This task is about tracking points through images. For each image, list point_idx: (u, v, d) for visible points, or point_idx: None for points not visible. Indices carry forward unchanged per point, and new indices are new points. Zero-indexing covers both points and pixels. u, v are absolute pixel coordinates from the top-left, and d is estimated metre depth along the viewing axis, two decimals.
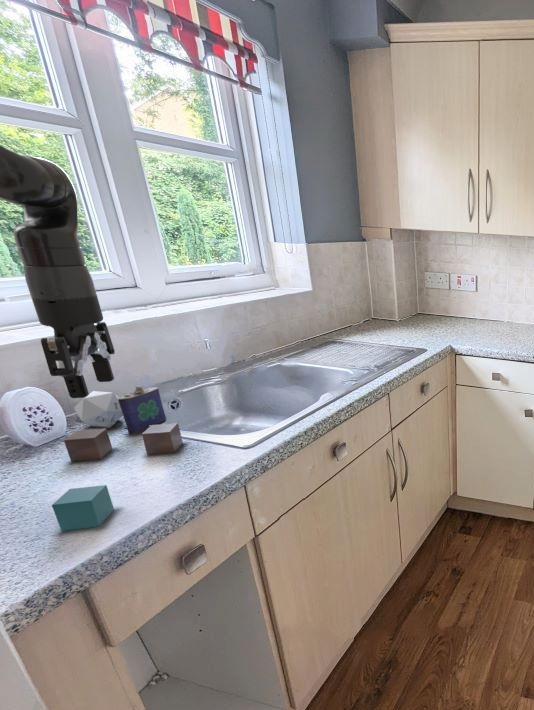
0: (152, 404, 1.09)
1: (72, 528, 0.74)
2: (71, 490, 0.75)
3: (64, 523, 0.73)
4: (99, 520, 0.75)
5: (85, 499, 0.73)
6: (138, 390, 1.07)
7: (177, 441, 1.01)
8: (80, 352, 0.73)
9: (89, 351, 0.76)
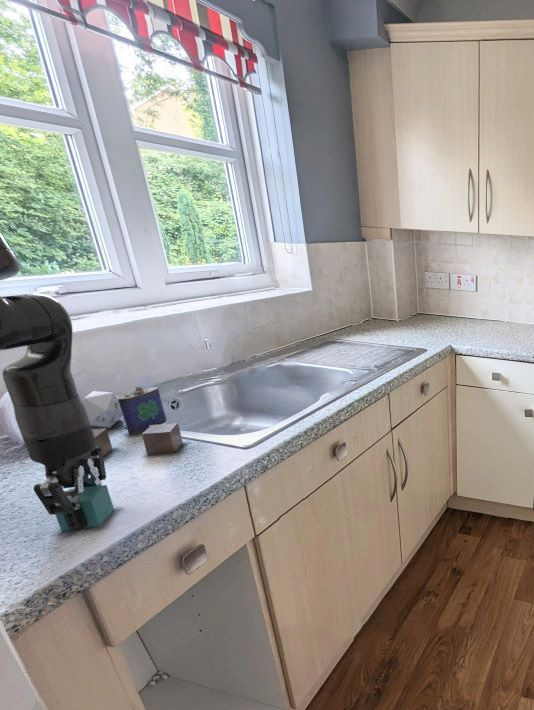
0: (152, 404, 1.09)
1: None
2: None
3: (64, 523, 0.73)
4: (99, 520, 0.75)
5: (85, 499, 0.73)
6: (138, 390, 1.07)
7: (177, 441, 1.01)
8: (75, 486, 0.71)
9: None
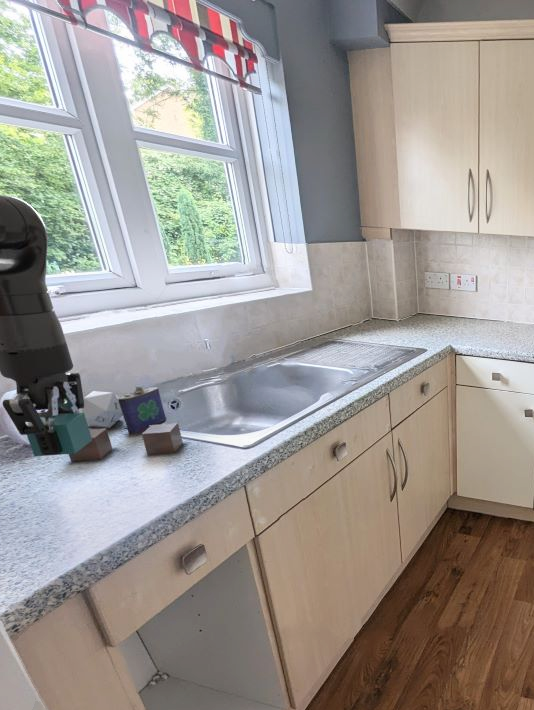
0: (152, 404, 1.09)
1: None
2: None
3: (37, 448, 0.69)
4: (74, 447, 0.71)
5: (60, 423, 0.69)
6: (138, 390, 1.07)
7: (177, 441, 1.01)
8: (49, 407, 0.68)
9: (57, 402, 0.70)
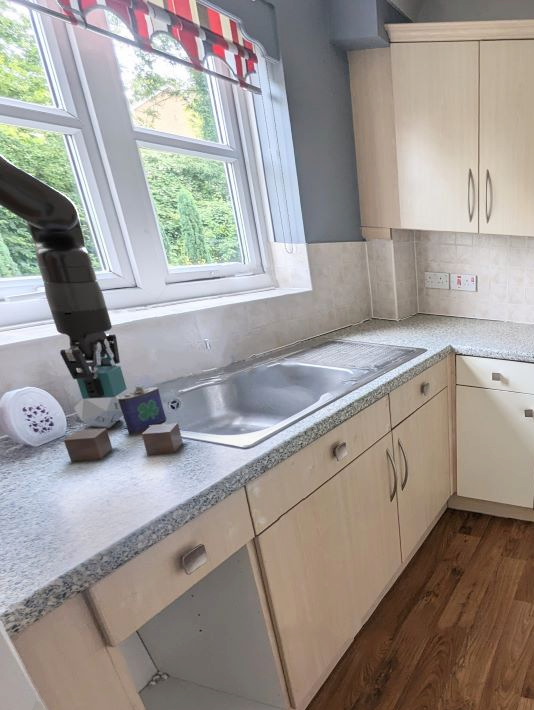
0: (152, 404, 1.09)
1: None
2: None
3: (85, 392, 0.86)
4: (114, 392, 0.88)
5: (102, 372, 0.87)
6: (138, 390, 1.07)
7: (177, 441, 1.01)
8: (94, 358, 0.85)
9: (99, 355, 0.87)
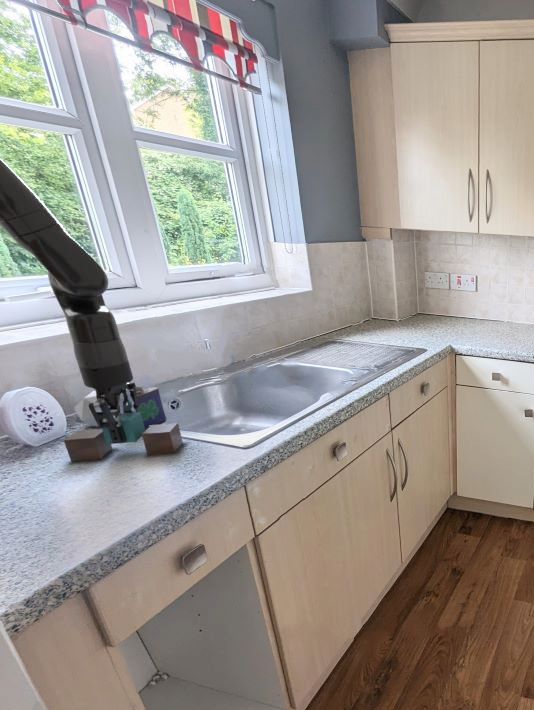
0: (152, 404, 1.09)
1: None
2: None
3: (109, 438, 0.94)
4: (135, 437, 0.96)
5: (125, 419, 0.95)
6: (138, 390, 1.07)
7: (177, 441, 1.01)
8: (118, 408, 0.93)
9: None
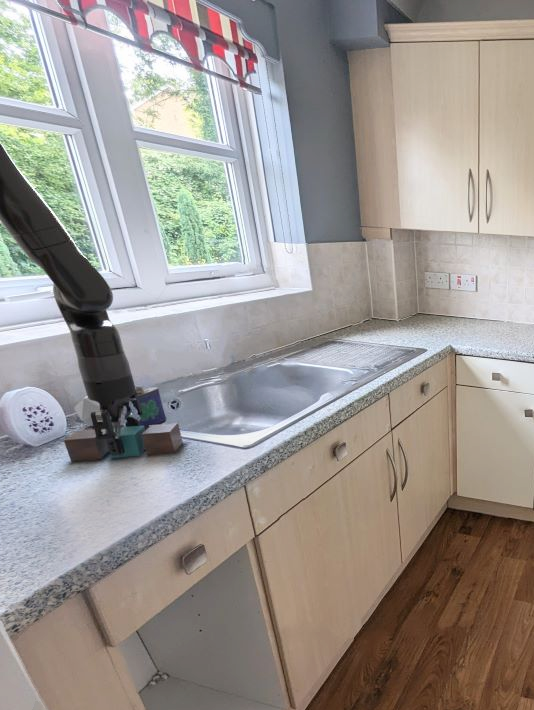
0: (152, 404, 1.09)
1: (119, 456, 0.96)
2: None
3: None
4: (139, 451, 0.97)
5: (129, 433, 0.96)
6: (138, 390, 1.07)
7: (177, 441, 1.01)
8: (119, 420, 0.93)
9: (125, 417, 0.96)
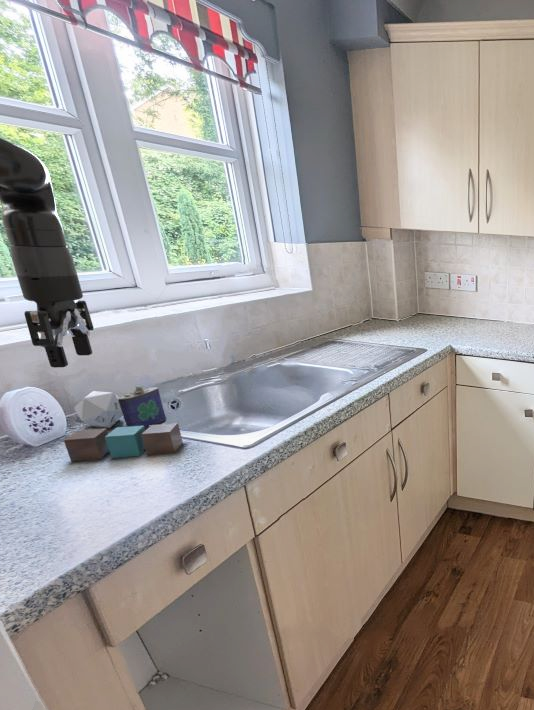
0: (152, 404, 1.09)
1: (119, 456, 0.96)
2: (118, 428, 0.98)
3: (113, 452, 0.95)
4: (139, 451, 0.97)
5: (129, 433, 0.96)
6: (138, 390, 1.07)
7: (177, 441, 1.01)
8: (60, 325, 0.81)
9: (69, 325, 0.83)
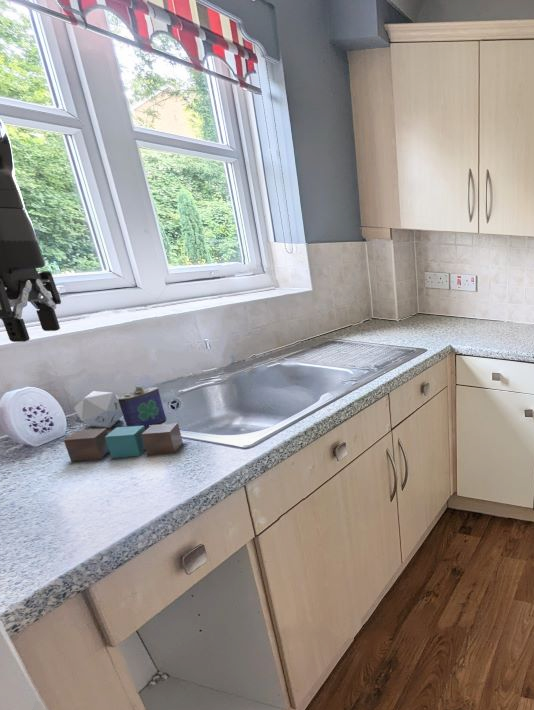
0: (152, 404, 1.09)
1: (119, 456, 0.96)
2: (118, 428, 0.98)
3: (113, 452, 0.95)
4: (139, 451, 0.97)
5: (129, 433, 0.96)
6: (138, 390, 1.07)
7: (177, 441, 1.01)
8: (19, 296, 0.74)
9: (31, 297, 0.77)
